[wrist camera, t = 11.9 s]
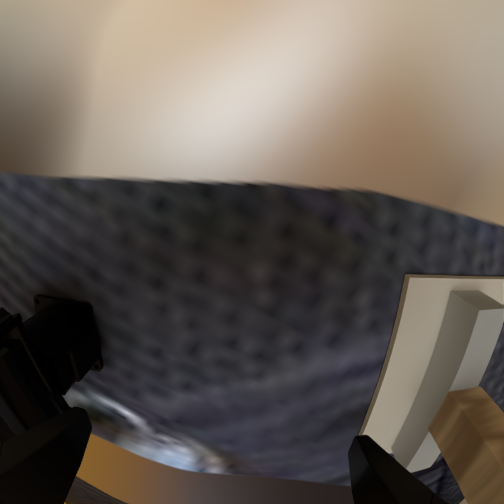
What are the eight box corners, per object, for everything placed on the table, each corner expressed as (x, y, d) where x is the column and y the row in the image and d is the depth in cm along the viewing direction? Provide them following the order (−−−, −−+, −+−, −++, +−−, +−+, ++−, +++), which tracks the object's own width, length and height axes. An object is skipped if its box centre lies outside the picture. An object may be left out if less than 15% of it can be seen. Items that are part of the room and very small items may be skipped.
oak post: (427, 428, 18) (486, 543, 5) (448, 391, 17) (528, 510, 4) (460, 421, 18) (521, 520, 5) (480, 386, 17) (558, 485, 4)
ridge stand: (350, 453, 24) (359, 487, 20) (405, 274, 20) (437, 297, 15) (440, 436, 24) (456, 462, 20) (504, 276, 20) (537, 293, 15)
